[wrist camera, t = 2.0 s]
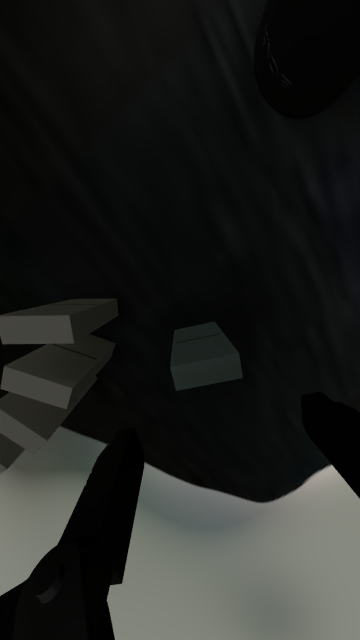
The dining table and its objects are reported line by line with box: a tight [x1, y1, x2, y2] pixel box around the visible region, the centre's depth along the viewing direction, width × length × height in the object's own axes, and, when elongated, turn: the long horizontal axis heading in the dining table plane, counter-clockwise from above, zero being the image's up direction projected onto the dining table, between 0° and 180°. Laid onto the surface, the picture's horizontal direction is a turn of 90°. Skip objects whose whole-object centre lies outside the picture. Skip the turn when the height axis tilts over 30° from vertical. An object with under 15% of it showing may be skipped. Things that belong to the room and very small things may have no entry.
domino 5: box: [170, 321, 243, 391], centre depth 17 cm, size 2×5×9 cm, turn 102°
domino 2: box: [0, 299, 118, 344], centre depth 16 cm, size 2×5×9 cm, turn 91°
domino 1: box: [0, 433, 25, 473], centre depth 19 cm, size 2×5×9 cm, turn 35°
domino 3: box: [1, 334, 116, 409], centre depth 17 cm, size 2×5×9 cm, turn 68°
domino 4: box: [0, 376, 98, 454], centre depth 18 cm, size 2×5×9 cm, turn 45°
